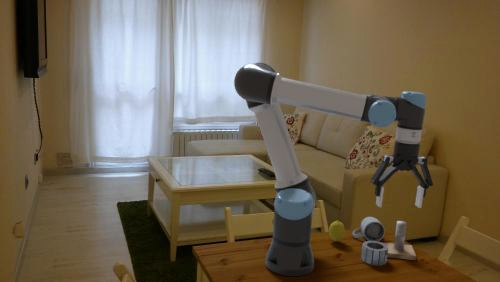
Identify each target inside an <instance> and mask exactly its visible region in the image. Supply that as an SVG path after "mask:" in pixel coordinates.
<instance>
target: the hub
mask: <svg viewBox="0 0 500 282" xmlns="http://www.w3.org/2000/svg"><path fill="white" fill-rule="evenodd" d="M361 246H362V247H361V257H360V258H361V261H362V262H364V263H366V264H368V265H371V266H376V267H377V266H385V265H386V264H387V263H388V257H387V255H388V246H387V245H385V244H384V243H382V242H380V241H368V240H367V241H366V240H365V241H364V242H362V245H361Z"/></svg>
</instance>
